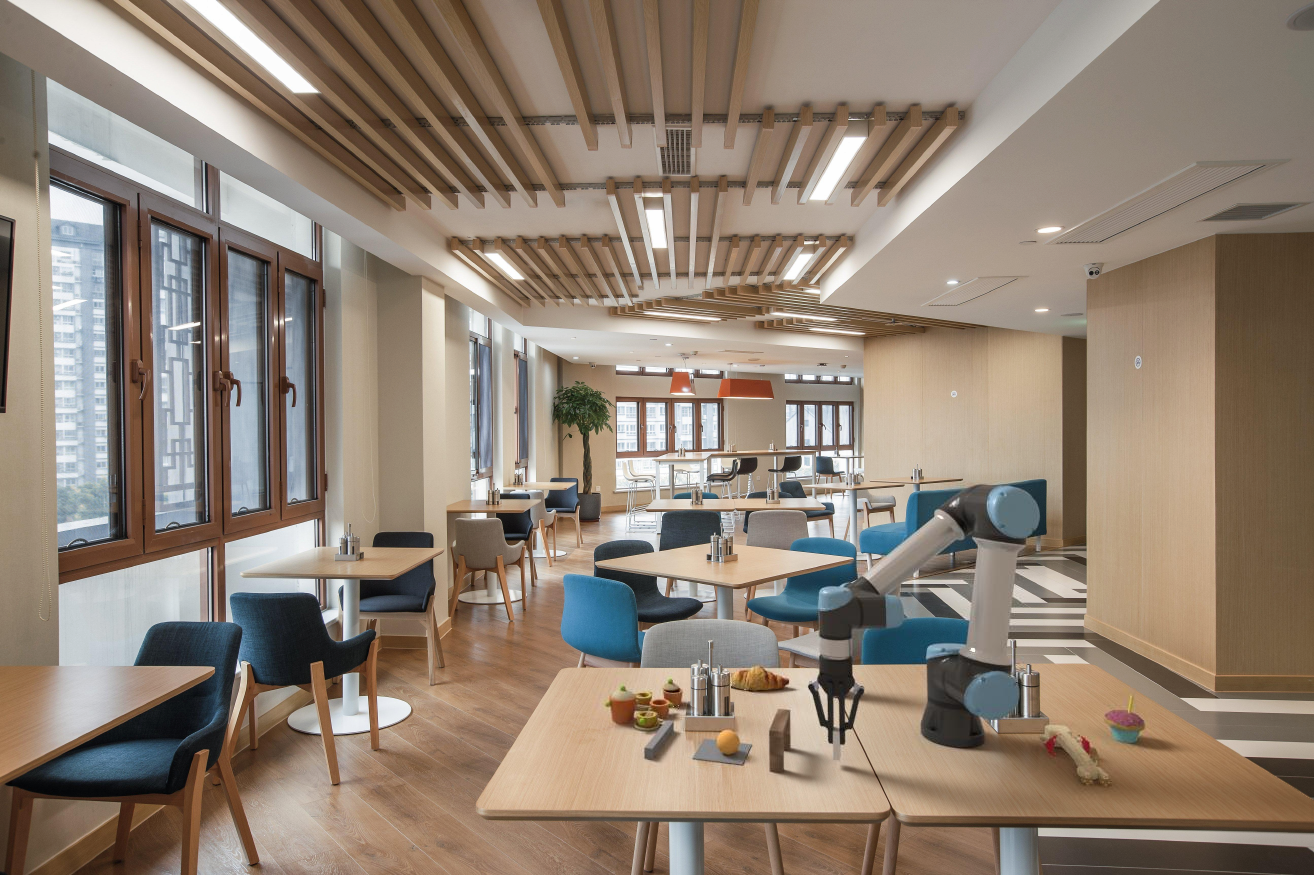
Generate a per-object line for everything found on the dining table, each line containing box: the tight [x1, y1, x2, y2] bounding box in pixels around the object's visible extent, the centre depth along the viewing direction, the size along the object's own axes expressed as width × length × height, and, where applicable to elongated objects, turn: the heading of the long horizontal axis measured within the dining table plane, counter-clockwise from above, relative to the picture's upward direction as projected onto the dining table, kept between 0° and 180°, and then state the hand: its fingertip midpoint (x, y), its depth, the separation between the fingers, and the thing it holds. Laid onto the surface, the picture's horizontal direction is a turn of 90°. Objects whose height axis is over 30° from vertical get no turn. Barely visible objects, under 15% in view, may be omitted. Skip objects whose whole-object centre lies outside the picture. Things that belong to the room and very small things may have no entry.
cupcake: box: [1103, 692, 1146, 744], centre depth 177 cm, size 9×8×12 cm
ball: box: [716, 729, 741, 755], centre depth 170 cm, size 6×6×6 cm
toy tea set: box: [604, 678, 684, 732], centre depth 197 cm, size 26×16×10 cm, turn 155°
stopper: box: [643, 720, 675, 760], centre depth 176 cm, size 2×18×2 cm, turn 162°
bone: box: [1038, 724, 1112, 787], centre depth 165 cm, size 10×9×25 cm
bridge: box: [768, 708, 792, 774], centre depth 167 cm, size 3×14×9 cm, turn 162°
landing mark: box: [691, 738, 752, 766], centre depth 171 cm, size 12×12×1 cm
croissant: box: [730, 665, 790, 691], centre depth 219 cm, size 21×10×8 cm, turn 81°
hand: (836, 757), depth 163 cm, fingers closed
